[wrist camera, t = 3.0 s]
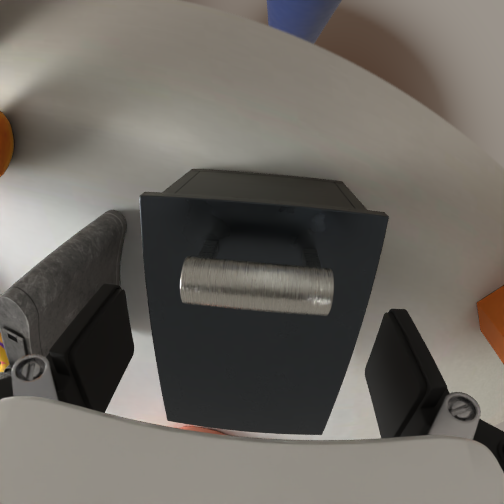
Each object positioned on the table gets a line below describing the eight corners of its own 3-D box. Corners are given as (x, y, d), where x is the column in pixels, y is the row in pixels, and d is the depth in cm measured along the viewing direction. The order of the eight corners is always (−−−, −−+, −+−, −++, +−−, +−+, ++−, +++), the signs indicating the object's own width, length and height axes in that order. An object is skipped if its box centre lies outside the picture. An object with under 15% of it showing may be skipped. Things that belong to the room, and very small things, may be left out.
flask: (97, 321, 35) (22, 438, 18) (94, 206, 29) (-38, 306, 12) (125, 330, 35) (57, 456, 19) (127, 212, 29) (2, 327, 13)
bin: (191, 168, 27) (145, 205, 17) (342, 181, 26) (381, 225, 17) (194, 335, 34) (169, 413, 24) (312, 346, 34) (321, 427, 24)
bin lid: (144, 191, 17) (96, 226, 12) (384, 211, 16) (425, 255, 11) (169, 413, 24) (154, 465, 20) (321, 427, 24) (325, 481, 19)
